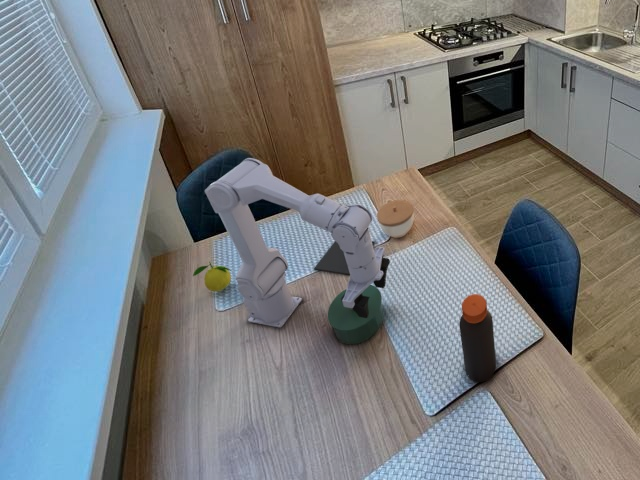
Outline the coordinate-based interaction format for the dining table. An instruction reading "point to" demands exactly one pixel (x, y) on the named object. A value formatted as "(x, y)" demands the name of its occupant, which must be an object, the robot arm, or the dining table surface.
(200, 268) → the lemon
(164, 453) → the dining table surface
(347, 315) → the tin lid
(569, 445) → the dining table surface
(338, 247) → the mat
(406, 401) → the dining table surface
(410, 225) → the trinket box
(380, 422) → the dining table surface
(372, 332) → the tin
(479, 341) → the bottle
